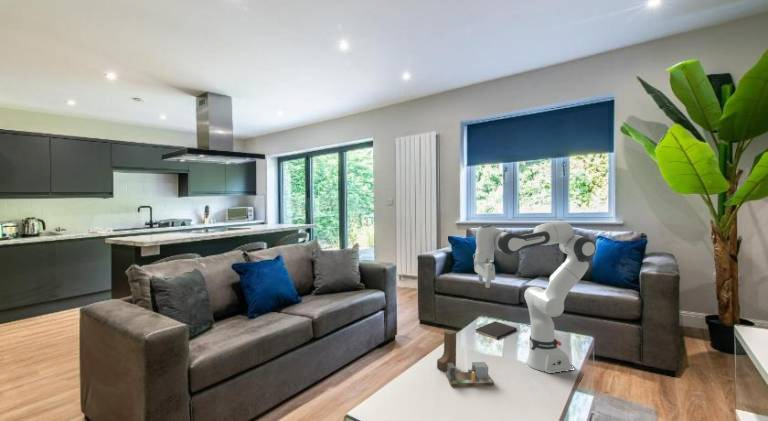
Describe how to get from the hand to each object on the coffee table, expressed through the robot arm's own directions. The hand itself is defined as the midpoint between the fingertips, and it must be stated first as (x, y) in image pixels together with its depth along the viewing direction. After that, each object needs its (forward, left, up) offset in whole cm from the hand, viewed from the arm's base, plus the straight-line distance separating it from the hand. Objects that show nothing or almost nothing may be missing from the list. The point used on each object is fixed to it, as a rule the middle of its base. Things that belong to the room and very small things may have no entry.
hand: (484, 285), depth 177 cm
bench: (+10, +11, -43) cm, 45 cm away
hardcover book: (-26, -48, -44) cm, 70 cm away
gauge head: (+6, +12, -41) cm, 43 cm away
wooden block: (+18, -2, -43) cm, 47 cm away
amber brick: (+10, +15, -41) cm, 44 cm away
